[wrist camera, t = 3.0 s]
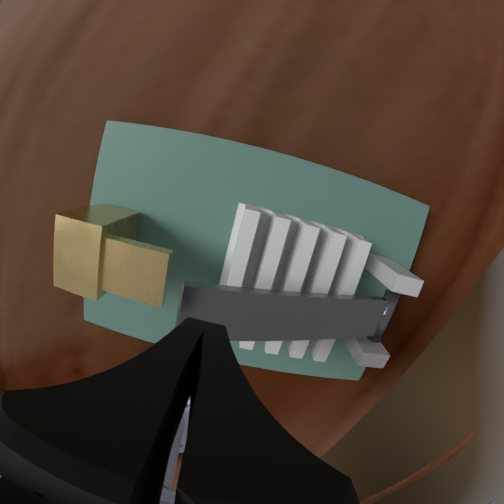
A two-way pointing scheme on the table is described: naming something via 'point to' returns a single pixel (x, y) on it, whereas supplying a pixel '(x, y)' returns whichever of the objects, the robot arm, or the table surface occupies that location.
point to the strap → (286, 312)
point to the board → (255, 236)
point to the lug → (108, 256)
